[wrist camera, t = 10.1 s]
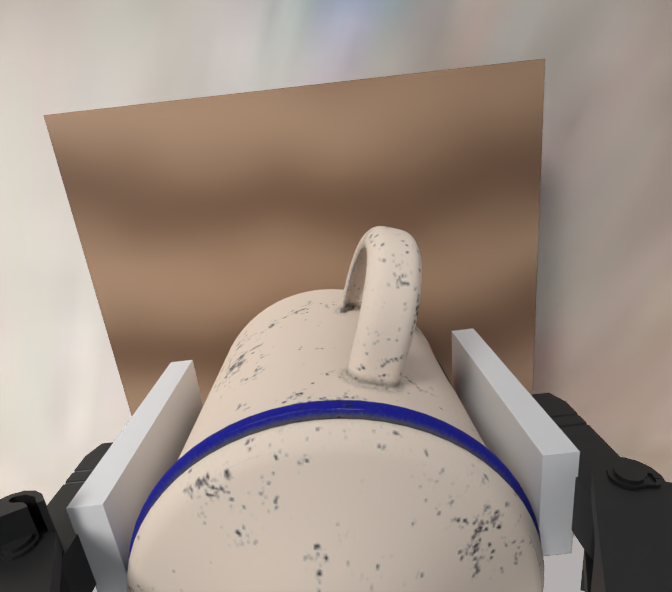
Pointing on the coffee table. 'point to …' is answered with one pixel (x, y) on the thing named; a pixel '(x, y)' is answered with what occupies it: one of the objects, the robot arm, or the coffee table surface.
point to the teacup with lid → (337, 459)
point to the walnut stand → (308, 208)
